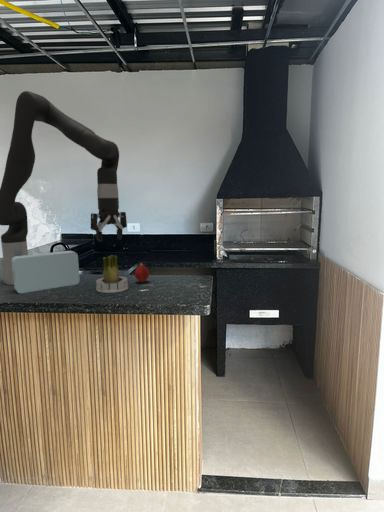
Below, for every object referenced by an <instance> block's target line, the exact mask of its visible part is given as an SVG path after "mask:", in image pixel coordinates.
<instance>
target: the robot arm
mask: <svg viewBox="0 0 384 512" xmlns="http://www.w3.org/2000/svg"><path fill="white" fill-rule="evenodd" d="M35 122H41V123H43V124H44V123H45V124H47V125H49V126H51V127H53V128H55V129H57V131H59V132H61V133H62V134H63V135H64V136H65V137H66V138H67V139H69V140H70V141H71V142H73V143H74V144H75V145H77V146H79V147H81V148H83V149H85V150H86V152H88V153H90V155H92V156H94V157H95V158H97V159H99V160H101V164H100V165H101V166H100V167H99V168H98V169H97V172H96V173H97V175H96V176H97V178H96V179H97V181H96V182H97V190H96V191H97V209H98V213H93V212H92V213H90V230H91V231H94V232H95V237H96V238H95V239H96V240H97V242H103V229H104V227H106V226H107V225H113V226H115V229H116V239H117V240H122V238H123V229H124V228H127V227H128V223H127V214H126V211H119V208H120V205H119V204H120V201H119V198H120V197H119V186H118V174H117V173H118V167H119V161H120V150H119V147H118V145H117V143H115V142H114V141H111V140H107V139H105V138H103V137H101V136H99V135H97V134H96V133H95V131H93V129H90V128H89V127H88V126H86V125H84V124H83V123H80V122H79V121H77V120H75V119H73V118H72V117H71V116H69V115H67V114H65V112H63V111H61V110H60V109H59V108H58V107H56V106H55V104H53V103H52V102H51V101H50V100H48V99H47V97H45V96H43V95H40V94H37V93H35V92H32V91H29V90H24V91H22V92H21V93H20V94H19V95H18V97H17V99H16V103H15V110H14V120H13V129H12V134H11V138H10V144H9V149H8V153H7V157H6V162H5V167H4V173H3V176H2V181H1V184H0V226H8V228H7V230H6V231H5V232H4V233H2V234H1V235H0V242H1V249H2V250H1V251H2V259H3V260H1V270H2V271H1V272H2V279H3V284H5V285H8V286H14V280H13V271H12V262H11V260H12V258H13V257H15V256H24V255H29V252H28V251H29V250H28V241H27V237H28V233H29V231H28V230H29V226H28V225H29V224H28V211H27V209H26V206H25V205H24V204H23V203H22V202H20V201H16V198H17V196H18V194H19V192H20V190H21V189H22V188H23V187H24V186H25V184H26V183H27V182H28V181H29V180H30V178H31V176H32V173H33V170H34V165H35V161H36V153H35V151H36V150H35V147H34V144H33V143H34V142H33V137H32V136H33V135H32V134H33V129H34V125H35ZM98 219H99V221H98Z"/></svg>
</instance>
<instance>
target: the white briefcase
mask: <svg viewBox="0 0 384 512" xmlns="http://www.w3.org/2000/svg"><path fill="white" fill-rule="evenodd" d="M11 262H12V271H13V280H14V285H13V287H14V289H15V291H16V292H17V293H19V294H26V293H31V292H38V291H44V289H45V290H51V289H57V288H63V287H68V286H69V287H70V286H74V285H78V284H80V282H81V281H80V280H81V279H80V267H79V266H80V264H79V256H78V253H77V252H75V251H72V250H65V251H62V250H61V251H55V252H54V251H53V252H46V253H45V252H43V253H35V254H34V253H33V254H28V255H24V256H15V257H13V258H12V260H11Z"/></svg>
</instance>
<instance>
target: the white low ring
mask: <svg viewBox="0 0 384 512" xmlns="http://www.w3.org/2000/svg"><path fill="white" fill-rule="evenodd" d="M95 281H96V291H97V292H98V293H101V294H116V293H122V292H125V291H127V290H128V289H129V280H128V277H126V276H120V275H119V281H118V282H111V283H109V282H104V276H103V277H101V278H98V279H96V280H95Z"/></svg>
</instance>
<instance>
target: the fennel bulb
mask: <svg viewBox="0 0 384 512" xmlns="http://www.w3.org/2000/svg"><path fill="white" fill-rule="evenodd" d="M102 262H103V263H102V264H103V277H104V282H109V283H111V282H118V281H119V276H120V272H119V268H118V256H117V255H112V254H110V255H109V256H108V255H107V257H104V256H103V257H102Z"/></svg>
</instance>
